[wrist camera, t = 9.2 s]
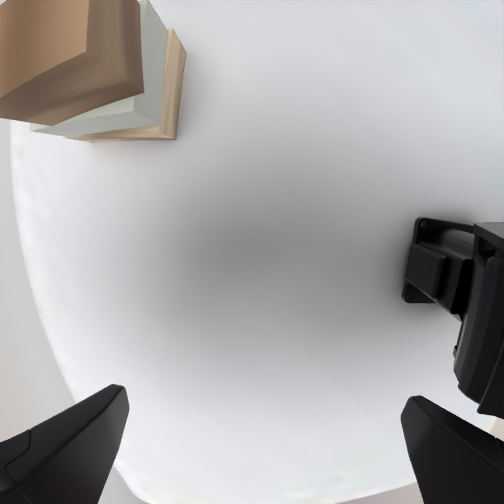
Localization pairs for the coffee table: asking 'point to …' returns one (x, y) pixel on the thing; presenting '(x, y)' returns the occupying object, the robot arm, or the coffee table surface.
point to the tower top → (133, 108)
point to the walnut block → (67, 57)
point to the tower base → (169, 102)
